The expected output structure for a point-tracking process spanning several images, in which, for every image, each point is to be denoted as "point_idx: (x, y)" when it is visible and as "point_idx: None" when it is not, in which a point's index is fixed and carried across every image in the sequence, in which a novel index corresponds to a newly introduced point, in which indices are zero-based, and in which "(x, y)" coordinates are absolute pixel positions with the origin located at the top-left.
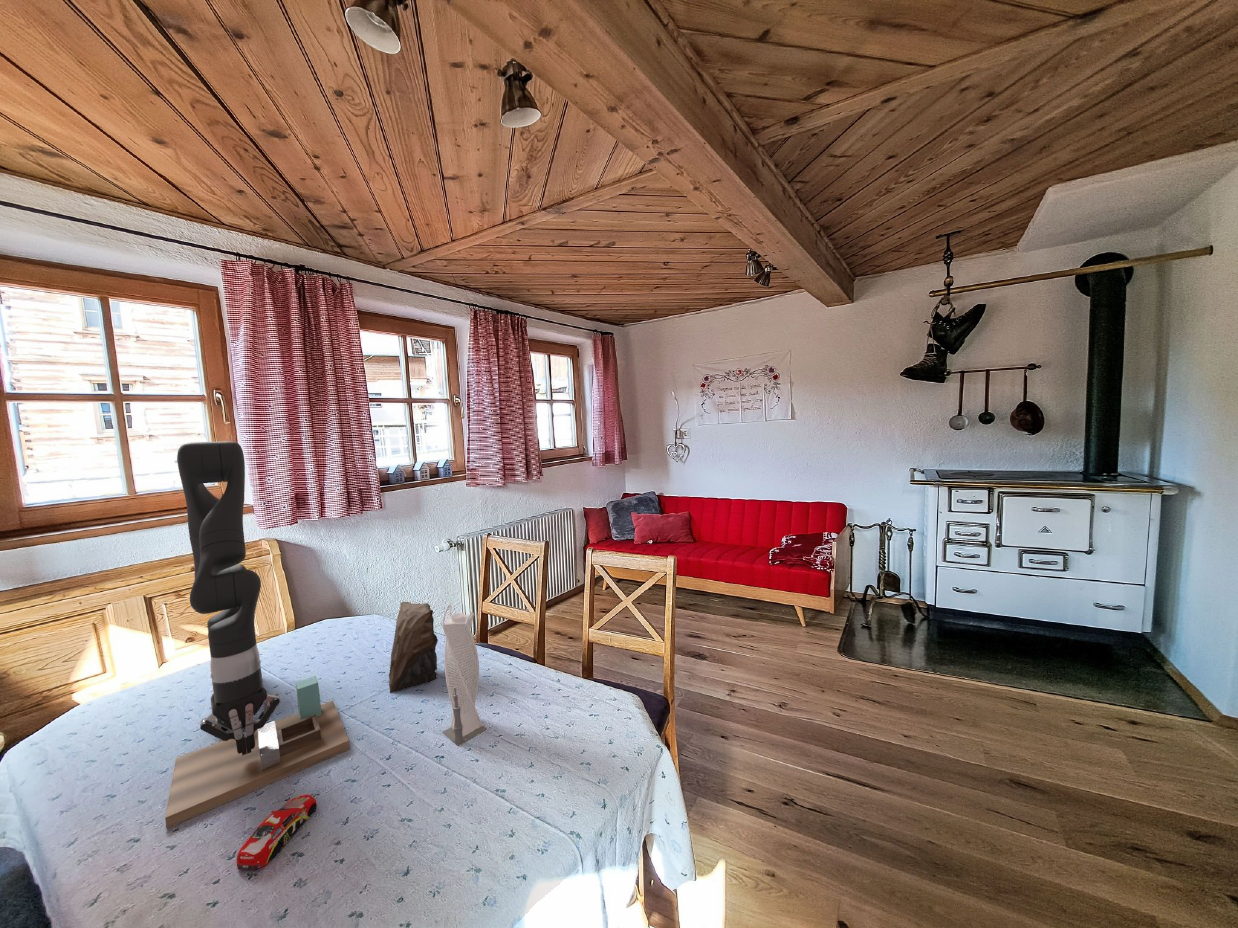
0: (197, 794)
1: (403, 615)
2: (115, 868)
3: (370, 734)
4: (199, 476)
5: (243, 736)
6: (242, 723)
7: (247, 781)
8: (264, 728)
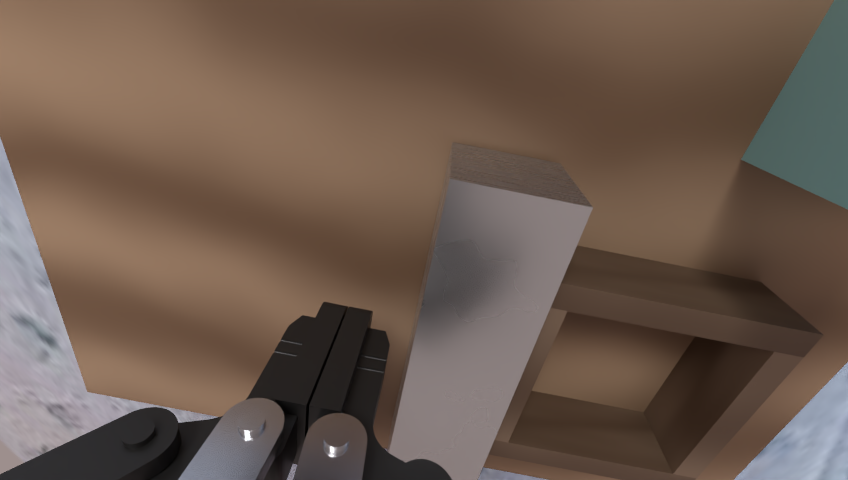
0: (169, 357)
1: None
2: (39, 401)
3: (796, 455)
4: None
5: (296, 447)
6: None
7: None
8: (481, 262)
